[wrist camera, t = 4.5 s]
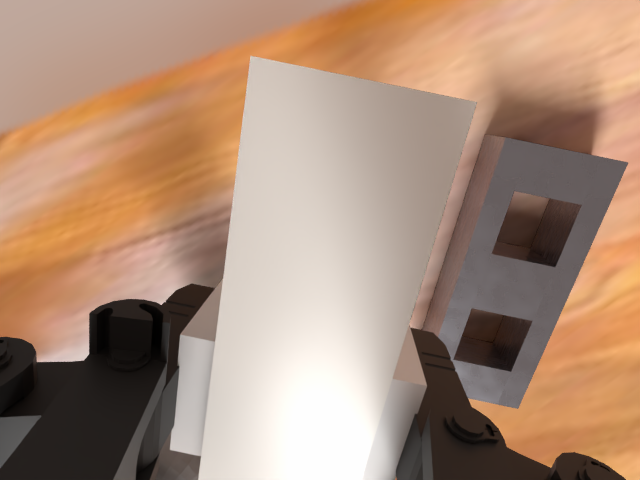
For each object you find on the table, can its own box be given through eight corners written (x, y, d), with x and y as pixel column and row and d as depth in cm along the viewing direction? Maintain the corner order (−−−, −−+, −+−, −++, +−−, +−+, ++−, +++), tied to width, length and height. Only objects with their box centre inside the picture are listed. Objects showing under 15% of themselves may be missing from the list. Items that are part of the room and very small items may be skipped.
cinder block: (412, 358, 35) (420, 388, 31) (485, 134, 29) (505, 137, 25) (499, 376, 35) (518, 408, 31) (591, 155, 29) (628, 162, 25)
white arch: (329, 367, 19) (309, 650, 9) (268, 354, 19) (180, 623, 9) (391, 109, 15) (476, 102, 5) (315, 93, 15) (250, 56, 5)
